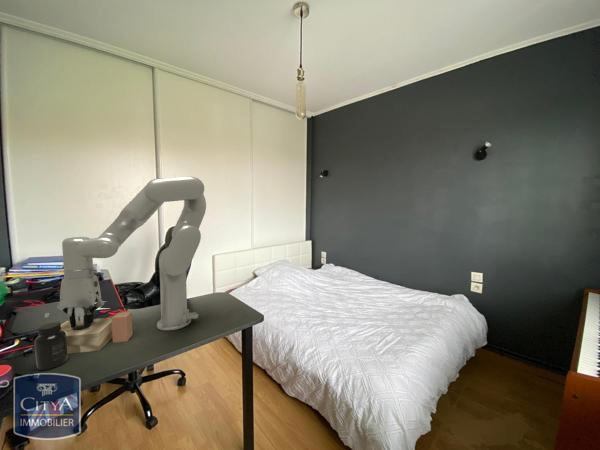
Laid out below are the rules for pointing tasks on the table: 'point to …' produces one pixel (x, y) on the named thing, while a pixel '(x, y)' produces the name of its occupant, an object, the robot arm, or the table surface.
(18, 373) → the table surface
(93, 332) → the socket block
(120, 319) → the square rust bit
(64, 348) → the supplement bottle
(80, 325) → the round metal bit
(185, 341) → the table surface
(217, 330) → the table surface
